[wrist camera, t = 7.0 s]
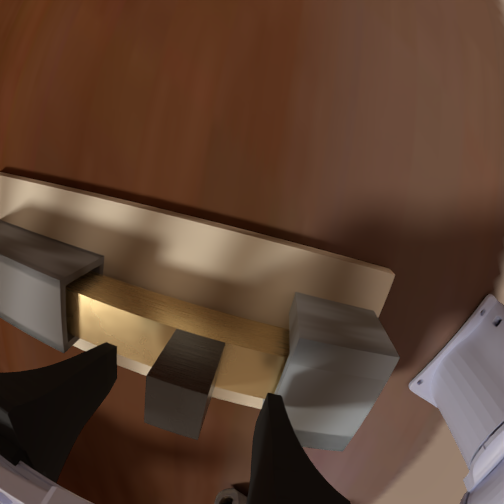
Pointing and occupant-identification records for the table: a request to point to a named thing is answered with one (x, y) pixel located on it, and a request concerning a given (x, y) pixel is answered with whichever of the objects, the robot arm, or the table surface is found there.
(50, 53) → the table surface
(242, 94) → the table surface
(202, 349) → the tan flat block
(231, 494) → the pipe
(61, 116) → the table surface
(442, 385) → the robot arm
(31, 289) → the grey blocks on plank
